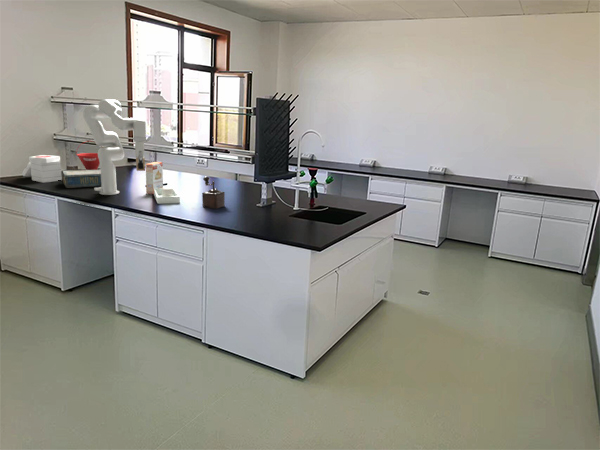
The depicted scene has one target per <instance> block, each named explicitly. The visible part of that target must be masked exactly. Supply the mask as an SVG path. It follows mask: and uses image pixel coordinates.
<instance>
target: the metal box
mask: <svg viewBox="0 0 600 450" xmlns="http://www.w3.org/2000/svg"><path fill="white" fill-rule="evenodd" d="M61 174H62V181H63V182H62V183H63V185H64V186H65V188H66V189H71V188H72V189H74V188H98V187H101V171H100V168H99V169H97V170H86V169H82V170H81V169H80V170H61Z"/></svg>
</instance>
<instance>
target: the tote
mask: <svg viewBox="0 0 600 450" xmlns="http://www.w3.org/2000/svg"><path fill="white" fill-rule="evenodd" d="M163 188H164V187H163ZM163 188H156V189H154V194H153V196H154V199H155V201H156V203H157V205H158V204H159V205H160V204H180V203H181V202H180V201H181V200H180V199H181V197H180V195H179V193H178V192H177V190H176V189H175V188H174V187H171V188H172V189H173V197H162V189H163Z"/></svg>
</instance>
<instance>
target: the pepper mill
mask: <svg viewBox="0 0 600 450" xmlns="http://www.w3.org/2000/svg"><path fill="white" fill-rule="evenodd" d="M202 179H203V181H204V185H205V186H208V187H209V186H212V189H209V190H207V191H203V192H202V195H201V196H202V206H203V208H205V207H206V208H205V209H213V210H216V209H217V210H218V209H220V208H224V207H225V205H226V204H225V202H226V201H225V197H226V196H225V195H226V194H225V193H226V192H225V191H222V190H219V189H218V188H215V185H216V184H215V181H214V180H212V183H210V182H209V181H210V176H204V177H203V178H202Z"/></svg>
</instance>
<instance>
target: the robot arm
mask: <svg viewBox="0 0 600 450" xmlns="http://www.w3.org/2000/svg"><path fill="white" fill-rule="evenodd" d="M82 115H83V119H84V121H85V123H86V125H87V127H88V128H89V130H90V133H91V136H92V138H93V140H94V141H93V142H94V144H96V146H98V147H100V148H99V149H98V150H97V153H98V158H99V162H100V164H99V166H100V167H99V169H100V171H101V186H99V187H94V191H97V192H99V194H100V195H102V196H103V195H104V196H113V195H118V194H119V193H120V190H118V189H117V188H118V187H117V172H116V171H117V170H116V165H115V164H114V162H115V161H121V160H123V159H124V158H125V151H124V147H123V145H122V142H121V140H120V138H119V136H118V134H117V133H116V132H114V131H106V130H105V128H104V126H103V124H102V122H101V121H100V120H98V119H106V118H107V119H108V118H110V121H111V123H112V125H113V126H114V127H115V128H117V129H118V130H120V131H132V135H133V137H132V138H133V139H132V140H133V142H134V146H135V147H134V151H135V152H134V154H135V159H136V158H137V157H138V169H144V167H143V158H145V143H146V142H147V138H146V137H147V129H146V128H147V126H146V120H145V119H140V118H139V119H138V118H136V117H135V118H134V117H130V118H129V117H124V118H123V117H122V116H123V110H122V104H121V103H120V101H119V100H116V99H101V100H100V101H99V102H98V104H90V105H89V104H88V105H86V106H84V107H83V111H82ZM101 146H102V147H101ZM139 157H140V158H139ZM113 161H114V162H113Z"/></svg>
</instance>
